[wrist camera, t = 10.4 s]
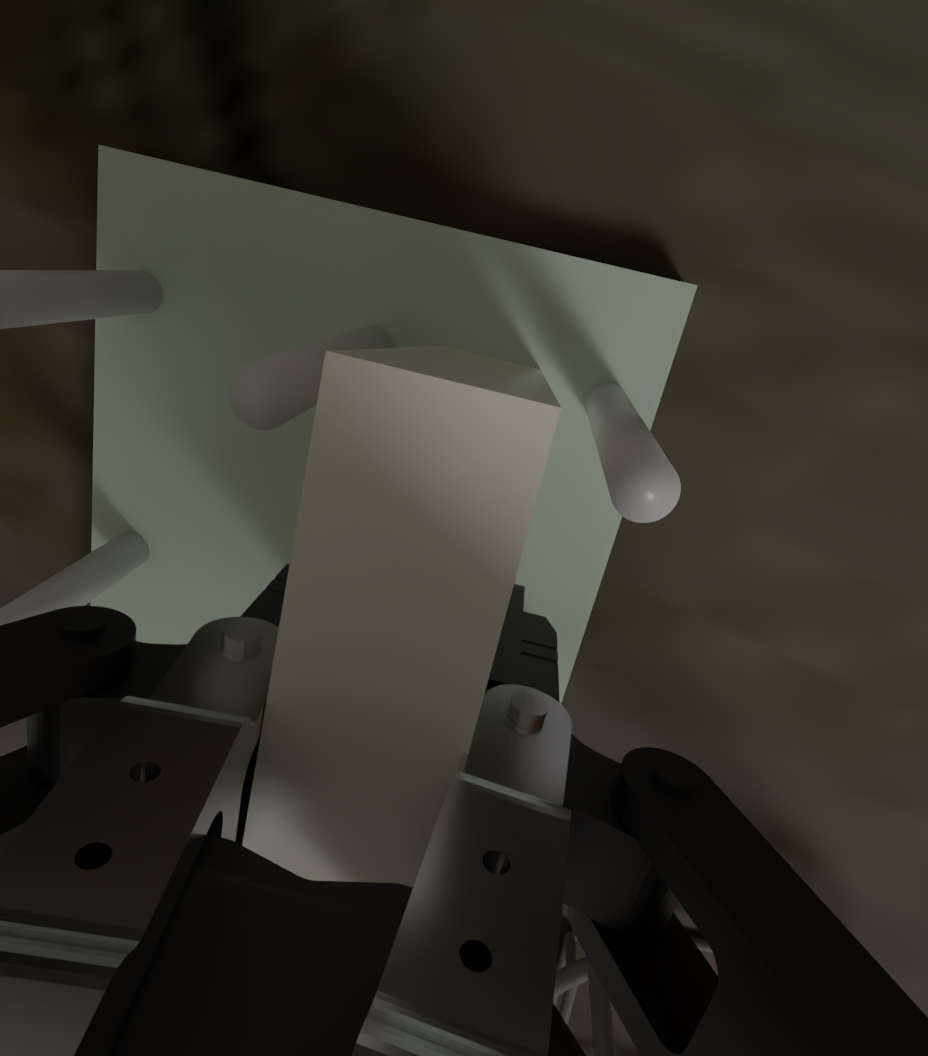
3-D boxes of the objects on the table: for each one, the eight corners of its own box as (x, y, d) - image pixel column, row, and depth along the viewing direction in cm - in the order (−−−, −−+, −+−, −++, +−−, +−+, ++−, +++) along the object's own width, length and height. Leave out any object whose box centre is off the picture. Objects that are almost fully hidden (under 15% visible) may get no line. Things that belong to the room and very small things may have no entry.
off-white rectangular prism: (540, 369, 16) (561, 407, 7) (448, 728, 19) (369, 1119, 9) (443, 346, 16) (325, 350, 7) (365, 707, 19) (203, 1075, 10)
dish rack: (685, 284, 17) (809, 297, 9) (547, 714, 22) (547, 972, 14) (134, 154, 17) (-219, 55, 9) (119, 605, 22) (-124, 796, 14)
